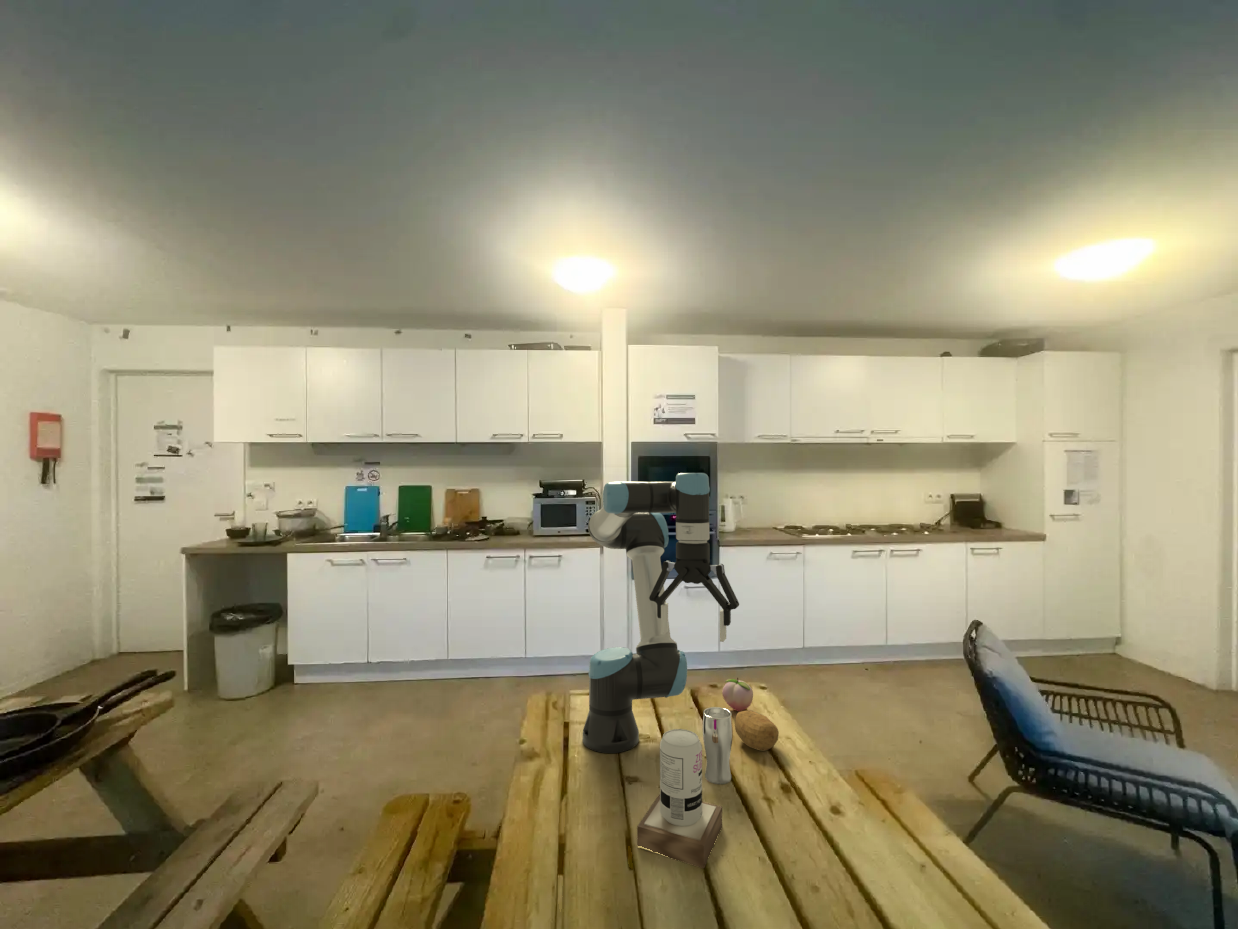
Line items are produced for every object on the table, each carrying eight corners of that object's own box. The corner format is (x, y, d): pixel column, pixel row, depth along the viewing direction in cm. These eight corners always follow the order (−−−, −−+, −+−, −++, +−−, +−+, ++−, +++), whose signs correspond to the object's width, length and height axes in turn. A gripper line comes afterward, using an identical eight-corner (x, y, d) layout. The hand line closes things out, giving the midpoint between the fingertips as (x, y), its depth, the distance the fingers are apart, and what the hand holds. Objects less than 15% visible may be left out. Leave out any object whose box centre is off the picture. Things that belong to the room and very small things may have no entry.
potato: (754, 731, 150) (754, 702, 150) (788, 755, 137) (788, 723, 137) (724, 738, 146) (724, 708, 147) (756, 762, 133) (756, 730, 134)
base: (637, 848, 102) (637, 825, 102) (661, 810, 114) (661, 789, 114) (703, 868, 97) (703, 844, 97) (722, 826, 108) (722, 805, 109)
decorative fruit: (759, 710, 164) (758, 677, 164) (746, 719, 157) (745, 685, 158) (731, 702, 170) (731, 670, 170) (717, 710, 164) (717, 677, 164)
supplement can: (657, 804, 109) (656, 728, 110) (697, 801, 110) (696, 727, 110) (663, 829, 101) (663, 748, 102) (706, 827, 102) (706, 746, 102)
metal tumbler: (736, 773, 128) (735, 709, 129) (729, 788, 122) (728, 721, 123) (707, 767, 131) (707, 704, 132) (699, 781, 125) (698, 715, 125)
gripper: (635, 540, 124) (635, 634, 123) (744, 545, 113) (745, 648, 112) (647, 537, 130) (647, 626, 130) (751, 542, 120) (752, 638, 119)
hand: (693, 636), depth 121 cm, fingers open, 13 cm apart
